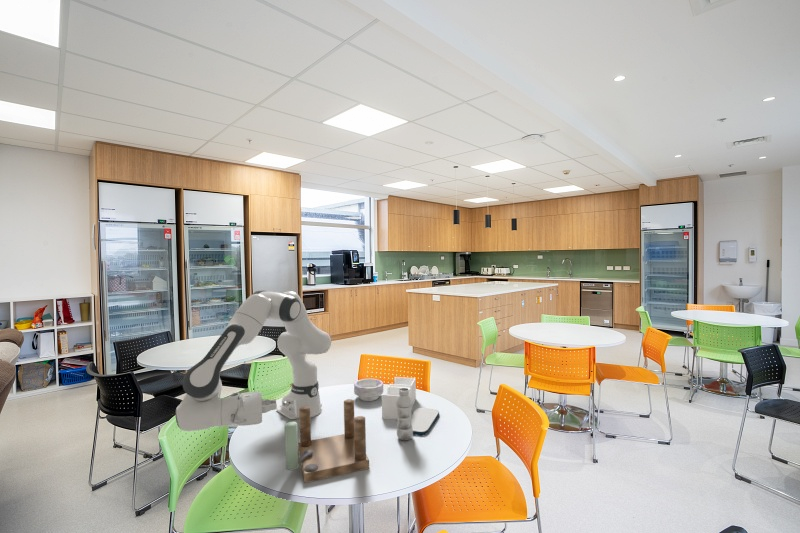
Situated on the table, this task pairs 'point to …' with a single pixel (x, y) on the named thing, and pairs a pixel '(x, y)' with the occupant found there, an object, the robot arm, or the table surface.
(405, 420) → the plastic bottle
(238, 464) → the table surface
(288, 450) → the green piece
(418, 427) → the external hard drive
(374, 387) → the light grey bowl
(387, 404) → the storage container
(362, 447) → the stool
